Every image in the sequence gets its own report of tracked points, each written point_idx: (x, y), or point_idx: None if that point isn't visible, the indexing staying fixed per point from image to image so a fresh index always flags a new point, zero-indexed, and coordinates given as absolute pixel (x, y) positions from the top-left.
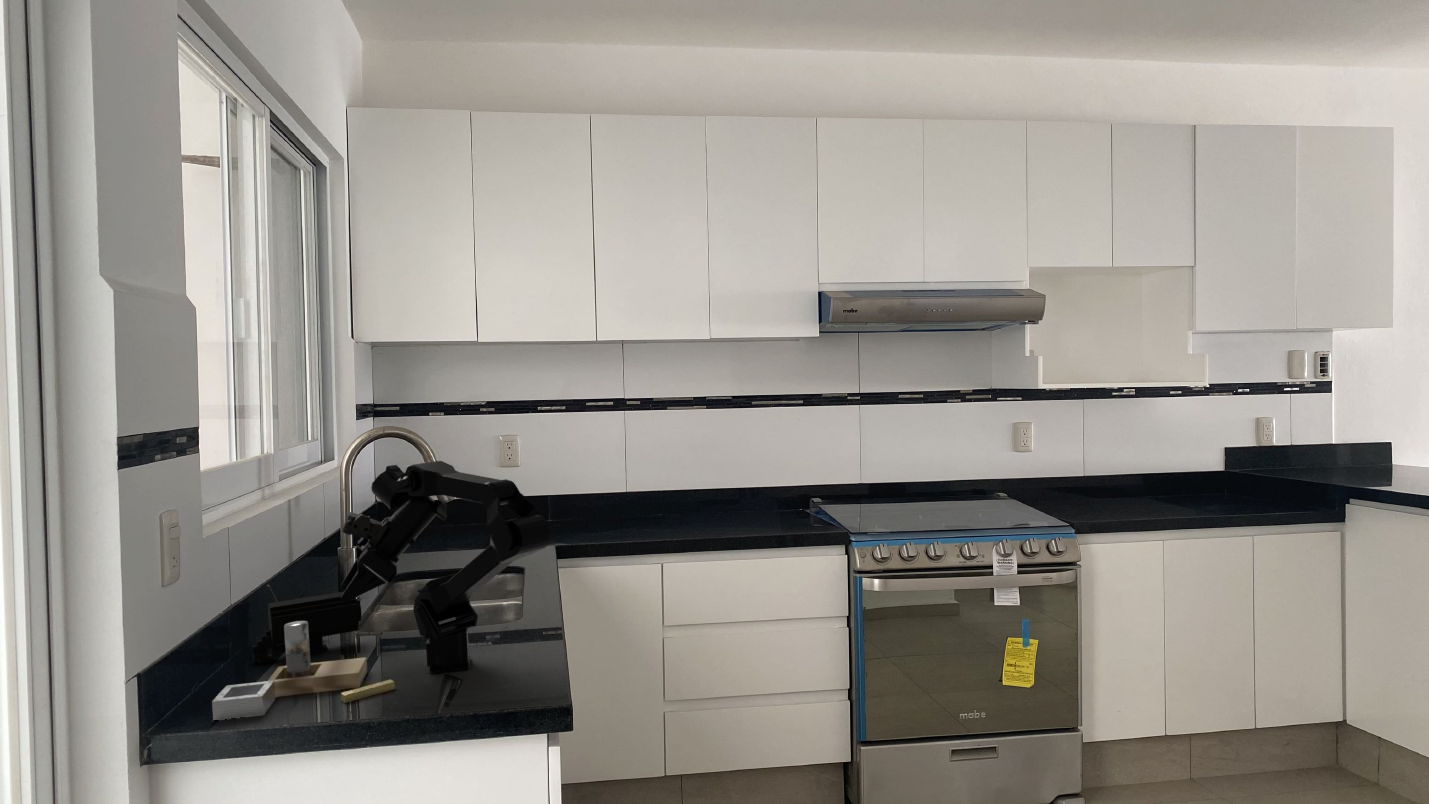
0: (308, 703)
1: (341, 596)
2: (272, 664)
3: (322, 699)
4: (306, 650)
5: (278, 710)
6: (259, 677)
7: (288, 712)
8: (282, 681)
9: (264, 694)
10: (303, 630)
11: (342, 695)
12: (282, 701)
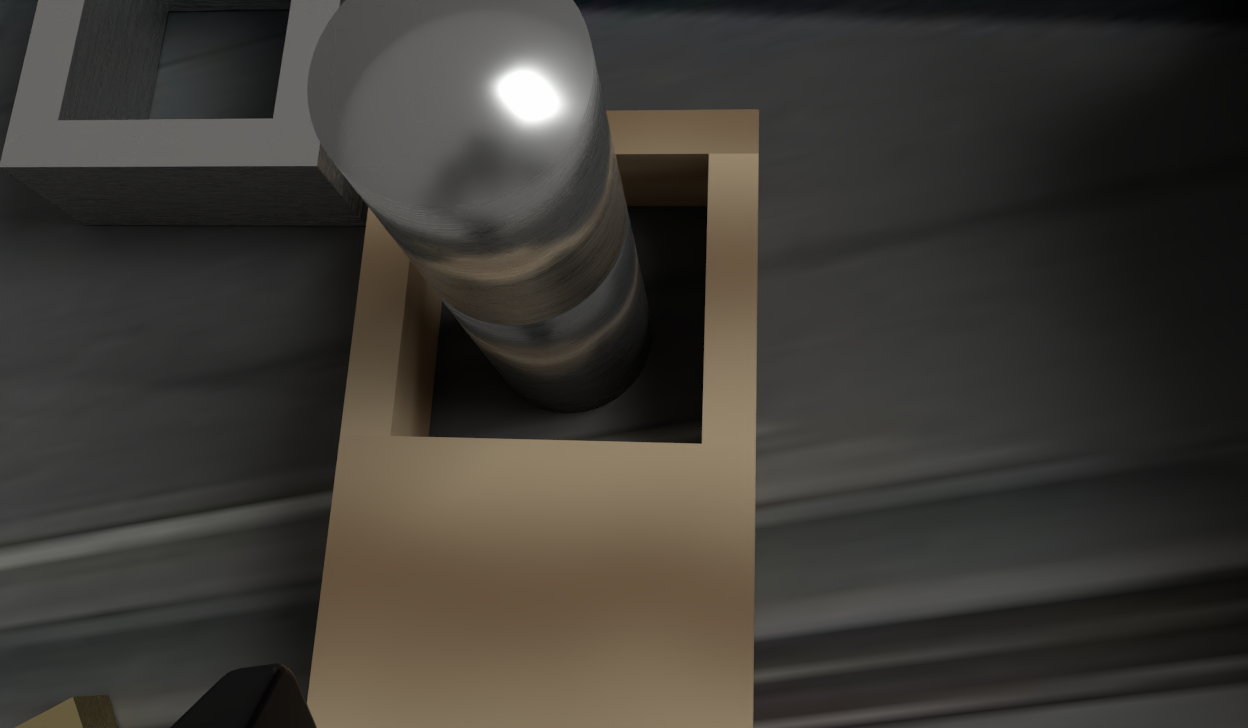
0: (170, 463)
1: (210, 700)
2: (1208, 21)
3: (205, 549)
4: (454, 306)
5: (132, 294)
6: (899, 11)
7: (60, 365)
8: (370, 220)
9: (57, 170)
10: (365, 202)
11: (45, 714)
12: (297, 281)
